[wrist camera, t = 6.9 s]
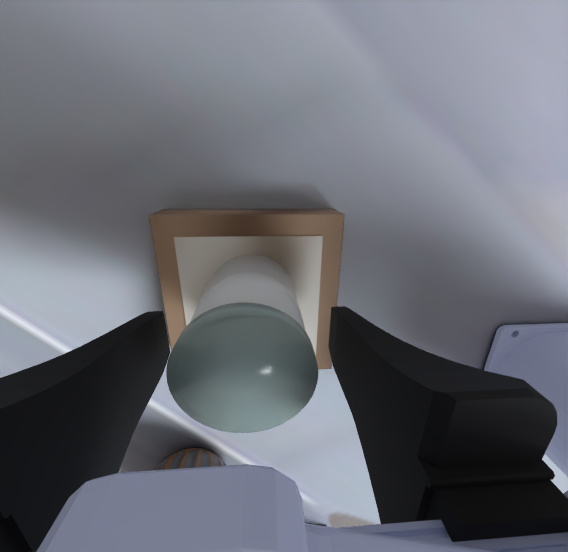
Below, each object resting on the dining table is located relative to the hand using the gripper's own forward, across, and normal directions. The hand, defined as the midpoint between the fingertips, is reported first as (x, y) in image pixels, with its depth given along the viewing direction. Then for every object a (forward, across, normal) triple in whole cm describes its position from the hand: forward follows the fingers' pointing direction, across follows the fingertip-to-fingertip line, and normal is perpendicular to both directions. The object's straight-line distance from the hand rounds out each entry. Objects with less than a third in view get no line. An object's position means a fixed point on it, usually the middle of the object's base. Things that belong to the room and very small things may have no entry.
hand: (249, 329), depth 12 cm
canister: (+2, 0, 0) cm, 3 cm away
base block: (+5, 0, 0) cm, 5 cm away
